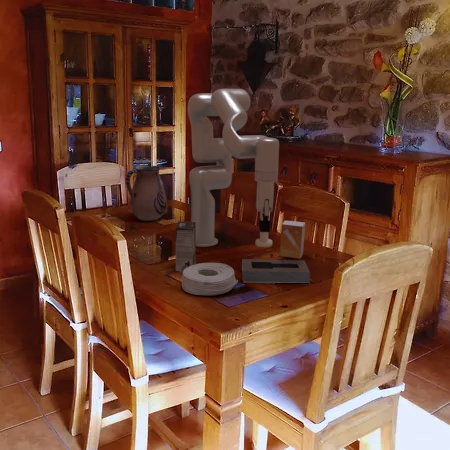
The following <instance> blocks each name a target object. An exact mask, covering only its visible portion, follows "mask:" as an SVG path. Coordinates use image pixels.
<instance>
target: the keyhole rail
mask: <svg viewBox="0 0 450 450" xmlns="http://www.w3.org/2000/svg"><path fill="white" fill-rule="evenodd" d="M241 274H242V283H243V284H275V283H309V284H310V281H311V280H310V278H311V271H310V270H309V267H308V265H307V263H306V261H305V260H300V259H299V260H298V259H293V260H292V259H259V258H258V259H257V258H256V259H253V258H252V259H251V258H242V260H241Z"/></svg>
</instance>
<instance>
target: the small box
mask: <svg viewBox="0 0 450 450" xmlns="http://www.w3.org/2000/svg"><path fill="white" fill-rule="evenodd" d="M305 229H306V221H305V222H301V221H293V220H284V221H283V223H281V231H280V232H281V233H280V248H279V249H280V250H279V256H280V257H283V258H285V257H286V258H291V259H292V258H293V259H297V260H298V259H299V260H300V259H301V258H302V257H303V254H304V245H305V243H304V242H305V231H306V230H305Z"/></svg>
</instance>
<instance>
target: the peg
mask: <svg viewBox="0 0 450 450" xmlns="http://www.w3.org/2000/svg"><path fill="white" fill-rule="evenodd" d="M263 211H265V209H263ZM263 214H264V213H263ZM269 233H270V232H260V231H259V238H256V239H255V247H256V246H257V247H259V248H271V247H273V240H272V239H271V238H269Z"/></svg>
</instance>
